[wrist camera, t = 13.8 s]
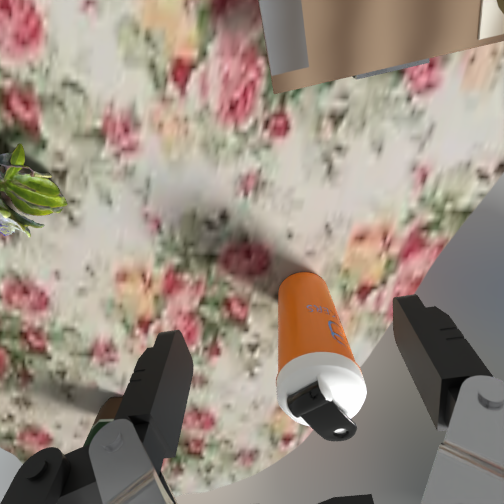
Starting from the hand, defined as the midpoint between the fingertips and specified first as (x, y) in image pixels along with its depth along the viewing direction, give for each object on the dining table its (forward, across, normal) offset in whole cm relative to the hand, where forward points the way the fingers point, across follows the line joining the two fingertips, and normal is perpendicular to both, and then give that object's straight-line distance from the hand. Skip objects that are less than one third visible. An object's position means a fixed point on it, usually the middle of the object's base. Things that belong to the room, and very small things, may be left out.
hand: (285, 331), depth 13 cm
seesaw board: (+24, -14, -10) cm, 29 cm away
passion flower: (+30, +31, -3) cm, 43 cm away
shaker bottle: (+30, -1, +21) cm, 37 cm away
